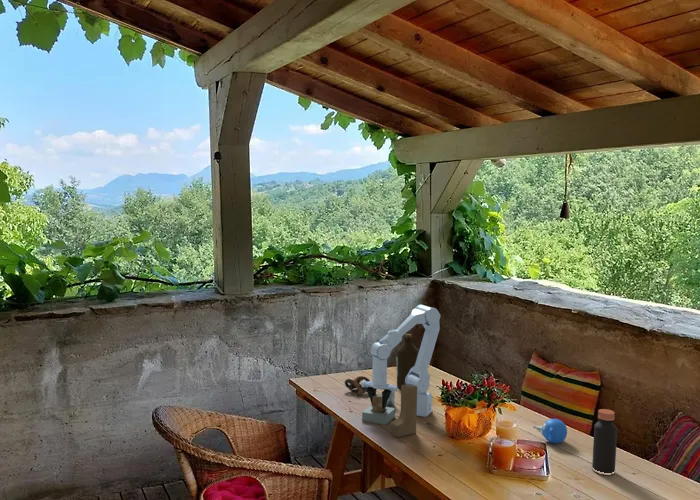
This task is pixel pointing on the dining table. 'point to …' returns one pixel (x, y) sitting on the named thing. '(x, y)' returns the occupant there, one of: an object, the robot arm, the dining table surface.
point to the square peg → (377, 403)
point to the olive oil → (405, 359)
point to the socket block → (378, 415)
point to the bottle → (605, 442)
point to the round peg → (391, 400)
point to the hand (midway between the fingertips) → (378, 406)
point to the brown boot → (406, 412)
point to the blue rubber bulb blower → (553, 430)
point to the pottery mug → (357, 384)
